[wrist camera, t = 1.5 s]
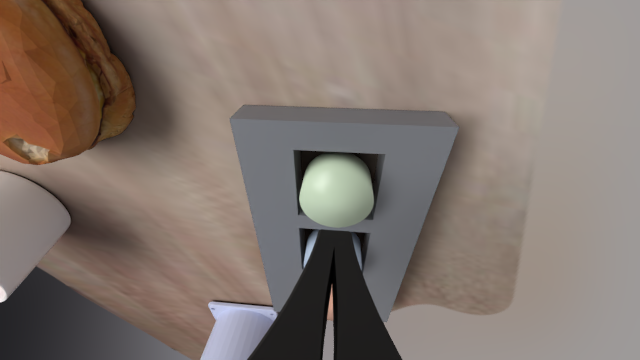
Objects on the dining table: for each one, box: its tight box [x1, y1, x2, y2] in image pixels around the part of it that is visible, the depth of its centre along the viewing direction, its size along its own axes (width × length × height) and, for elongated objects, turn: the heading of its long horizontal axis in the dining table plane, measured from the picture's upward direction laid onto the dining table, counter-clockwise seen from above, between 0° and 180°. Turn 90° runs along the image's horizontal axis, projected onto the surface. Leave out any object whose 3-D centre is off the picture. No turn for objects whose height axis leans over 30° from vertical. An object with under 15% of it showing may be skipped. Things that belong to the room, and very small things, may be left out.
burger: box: [0, 0, 136, 165], centre depth 11 cm, size 10×9×5 cm
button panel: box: [230, 105, 459, 322], centre depth 18 cm, size 20×11×2 cm, turn 0°
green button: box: [299, 152, 374, 228], centre depth 14 cm, size 4×4×2 cm
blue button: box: [304, 229, 362, 270], centre depth 17 cm, size 4×4×2 cm
